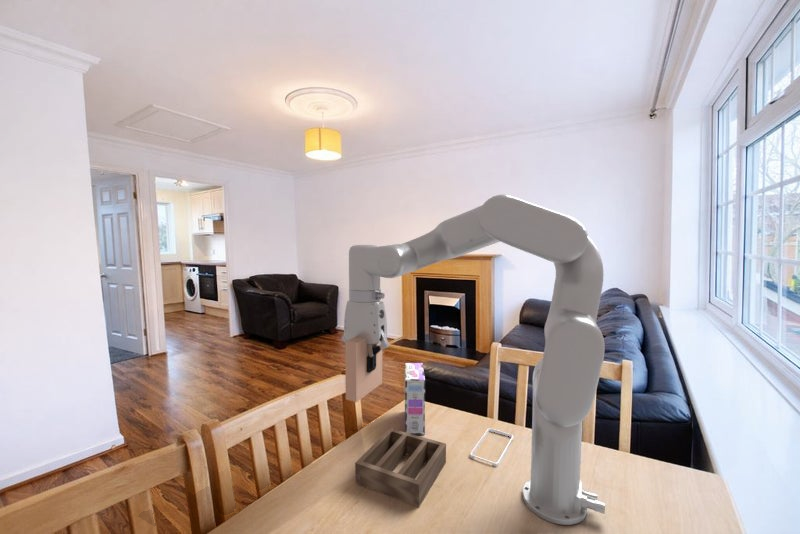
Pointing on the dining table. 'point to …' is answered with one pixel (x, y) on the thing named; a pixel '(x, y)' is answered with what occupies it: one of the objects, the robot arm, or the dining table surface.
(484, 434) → the phone case
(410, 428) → the candy box
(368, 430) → the dining table surface
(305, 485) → the dining table surface
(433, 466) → the slotted box
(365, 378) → the pink block
